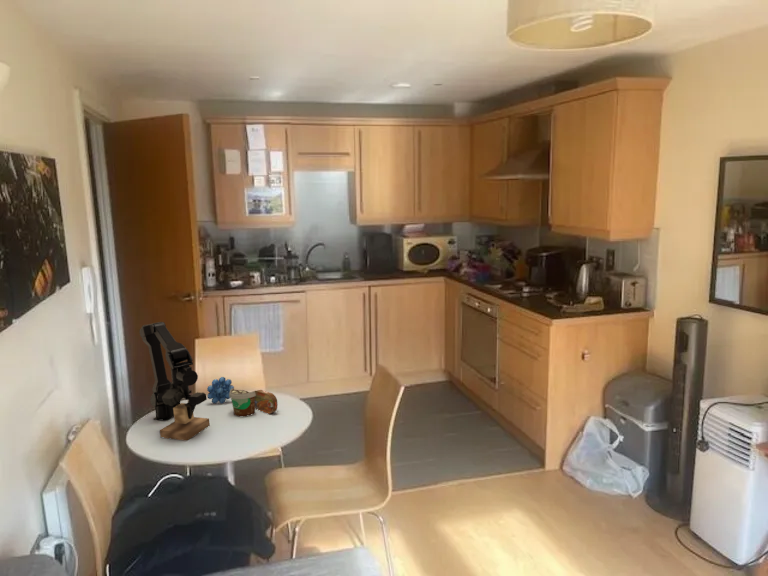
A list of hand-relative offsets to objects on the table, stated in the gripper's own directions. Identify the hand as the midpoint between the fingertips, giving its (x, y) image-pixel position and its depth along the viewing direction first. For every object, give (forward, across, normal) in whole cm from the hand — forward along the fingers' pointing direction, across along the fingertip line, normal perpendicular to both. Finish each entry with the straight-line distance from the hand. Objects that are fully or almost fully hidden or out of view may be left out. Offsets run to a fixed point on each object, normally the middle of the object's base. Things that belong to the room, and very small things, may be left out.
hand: (184, 418), depth 223 cm
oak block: (+1, 0, 0) cm, 1 cm away
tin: (+6, +20, +26) cm, 33 cm away
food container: (+6, +12, +20) cm, 24 cm away
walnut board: (+6, 0, 0) cm, 6 cm away
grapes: (+6, -4, +30) cm, 31 cm away
